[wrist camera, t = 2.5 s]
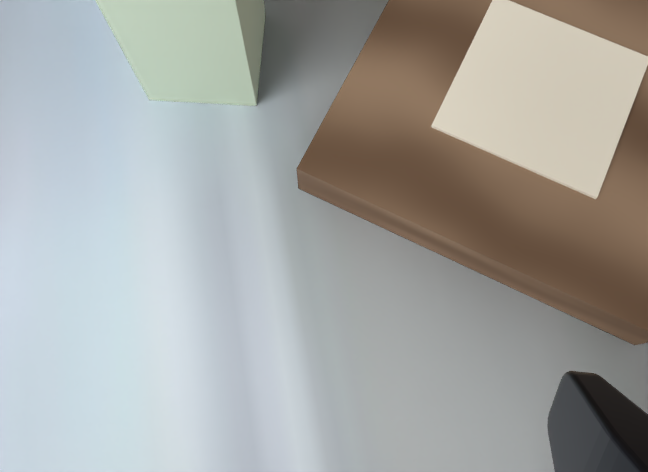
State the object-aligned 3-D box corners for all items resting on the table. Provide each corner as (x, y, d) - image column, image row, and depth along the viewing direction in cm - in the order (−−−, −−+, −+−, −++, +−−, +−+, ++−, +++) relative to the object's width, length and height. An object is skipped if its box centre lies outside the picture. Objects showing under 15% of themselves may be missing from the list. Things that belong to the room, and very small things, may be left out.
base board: (634, 345, 22) (667, 337, 20) (298, 188, 23) (296, 167, 21) (732, 52, 25) (768, 21, 23) (435, -65, 27) (445, -105, 25)
